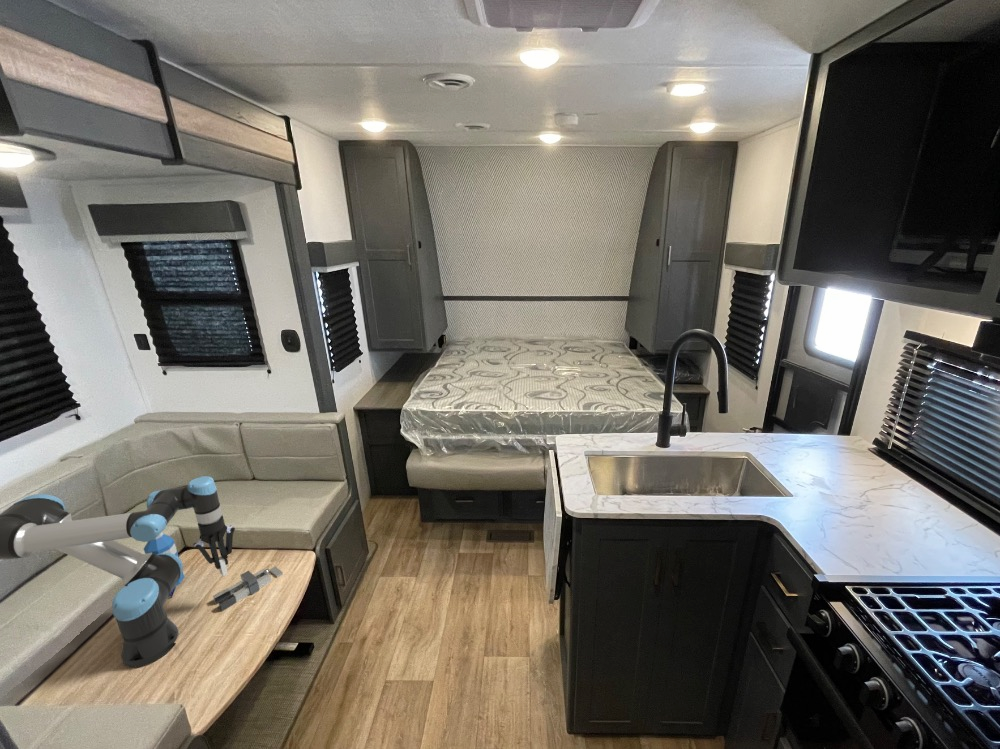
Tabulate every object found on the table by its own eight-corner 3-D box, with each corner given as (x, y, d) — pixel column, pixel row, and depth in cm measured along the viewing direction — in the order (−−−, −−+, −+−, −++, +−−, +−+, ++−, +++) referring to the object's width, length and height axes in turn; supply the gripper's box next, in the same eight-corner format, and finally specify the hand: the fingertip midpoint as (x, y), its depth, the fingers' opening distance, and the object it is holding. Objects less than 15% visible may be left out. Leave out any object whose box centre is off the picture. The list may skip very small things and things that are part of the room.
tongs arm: (218, 607, 158) (216, 599, 157) (214, 601, 160) (212, 594, 159) (270, 577, 172) (269, 570, 171) (266, 573, 174) (265, 565, 173)
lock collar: (251, 595, 163) (248, 583, 162) (243, 586, 167) (240, 575, 166) (259, 590, 166) (257, 578, 164) (251, 582, 170) (248, 570, 168)
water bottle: (169, 595, 165) (153, 541, 158) (150, 592, 167) (133, 538, 160) (190, 578, 174) (176, 525, 167) (172, 574, 176) (156, 523, 169)
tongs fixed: (222, 611, 156) (220, 605, 155) (215, 603, 160) (213, 597, 159) (283, 574, 174) (281, 568, 173) (275, 568, 177) (274, 562, 176)
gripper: (225, 506, 158) (237, 559, 165) (184, 524, 148) (199, 580, 155) (234, 513, 154) (247, 567, 160) (193, 532, 144) (208, 589, 150)
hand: (224, 573), depth 157 cm, fingers closed
